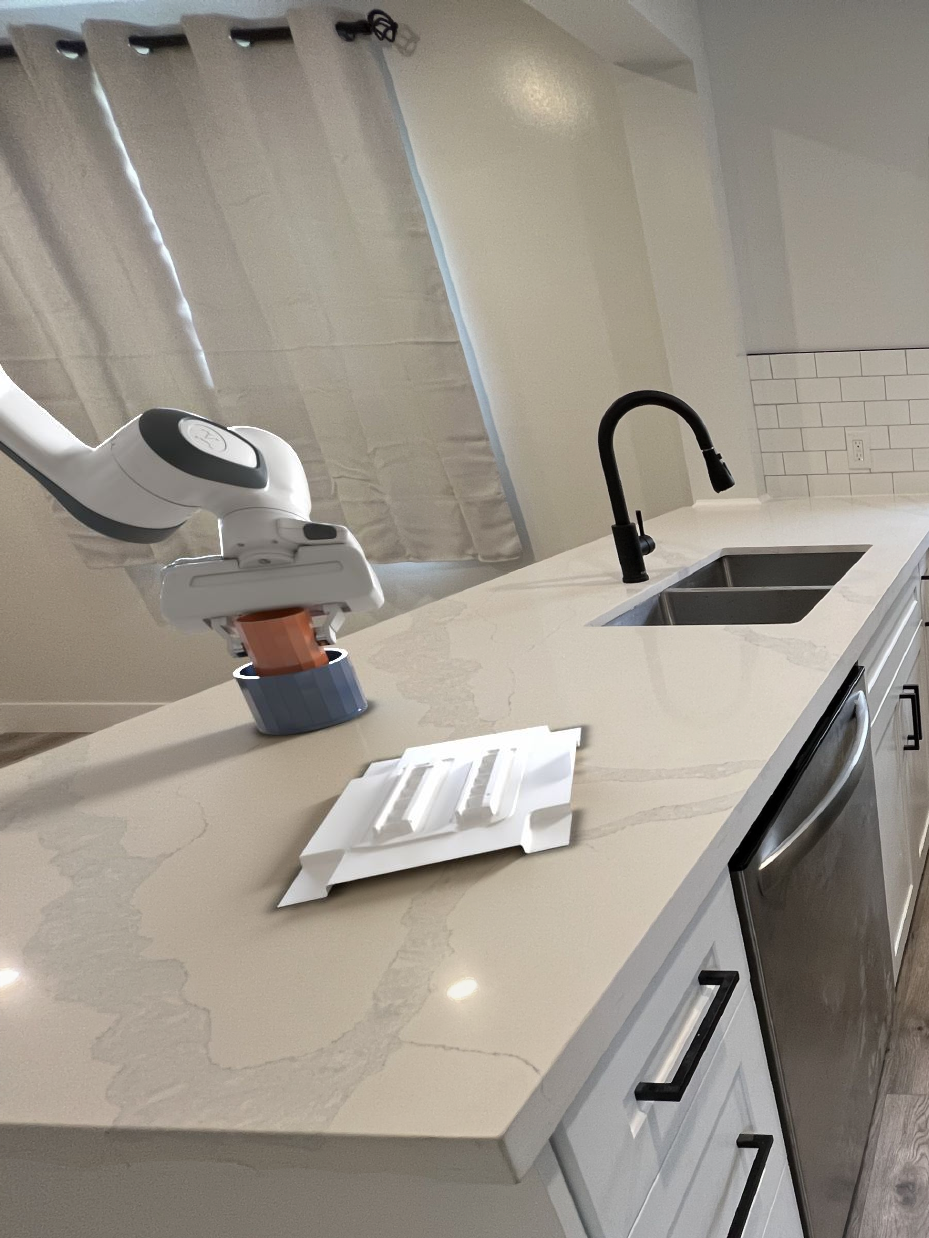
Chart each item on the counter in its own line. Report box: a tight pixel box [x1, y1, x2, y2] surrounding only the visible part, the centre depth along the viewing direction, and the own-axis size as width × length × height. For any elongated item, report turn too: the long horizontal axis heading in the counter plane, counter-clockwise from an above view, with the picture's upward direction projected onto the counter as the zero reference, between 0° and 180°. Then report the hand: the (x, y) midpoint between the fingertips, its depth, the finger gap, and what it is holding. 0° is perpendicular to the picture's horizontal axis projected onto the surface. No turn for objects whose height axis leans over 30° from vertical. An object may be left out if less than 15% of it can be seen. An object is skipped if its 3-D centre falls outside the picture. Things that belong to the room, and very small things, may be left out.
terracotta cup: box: [233, 607, 330, 677], centre depth 93 cm, size 7×7×9 cm
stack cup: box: [232, 648, 369, 736], centre depth 95 cm, size 11×11×7 cm
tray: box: [277, 724, 582, 908], centre depth 75 cm, size 20×28×4 cm
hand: (284, 649), depth 93 cm, fingers closed on terracotta cup, 7 cm apart
